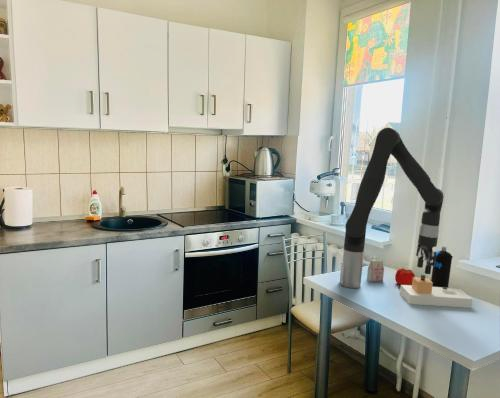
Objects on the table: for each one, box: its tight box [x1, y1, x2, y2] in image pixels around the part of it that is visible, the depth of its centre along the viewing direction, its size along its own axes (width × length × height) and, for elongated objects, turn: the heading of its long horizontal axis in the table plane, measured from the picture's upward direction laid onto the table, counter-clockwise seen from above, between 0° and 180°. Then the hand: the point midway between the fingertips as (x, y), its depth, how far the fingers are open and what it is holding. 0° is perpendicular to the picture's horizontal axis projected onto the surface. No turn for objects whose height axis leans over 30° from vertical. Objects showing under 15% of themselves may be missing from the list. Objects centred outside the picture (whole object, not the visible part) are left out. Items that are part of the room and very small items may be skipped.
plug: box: [412, 274, 433, 294], centre depth 172 cm, size 6×6×9 cm
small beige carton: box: [366, 259, 385, 283], centre depth 194 cm, size 4×7×10 cm, turn 107°
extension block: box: [399, 285, 473, 309], centre depth 173 cm, size 26×12×5 cm, turn 88°
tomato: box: [394, 267, 416, 286], centre depth 190 cm, size 9×9×8 cm
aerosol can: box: [430, 245, 453, 288], centre depth 189 cm, size 8×8×20 cm
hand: (423, 270), depth 171 cm, fingers open, 8 cm apart
